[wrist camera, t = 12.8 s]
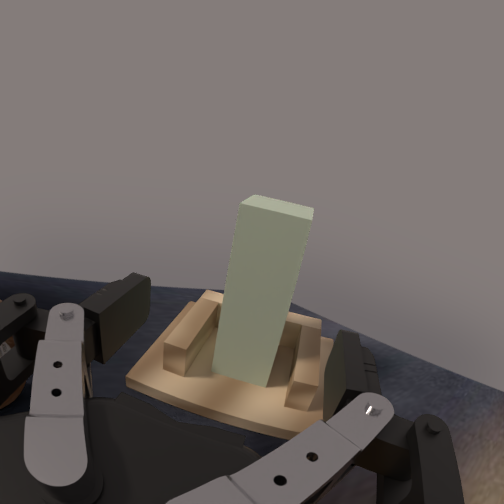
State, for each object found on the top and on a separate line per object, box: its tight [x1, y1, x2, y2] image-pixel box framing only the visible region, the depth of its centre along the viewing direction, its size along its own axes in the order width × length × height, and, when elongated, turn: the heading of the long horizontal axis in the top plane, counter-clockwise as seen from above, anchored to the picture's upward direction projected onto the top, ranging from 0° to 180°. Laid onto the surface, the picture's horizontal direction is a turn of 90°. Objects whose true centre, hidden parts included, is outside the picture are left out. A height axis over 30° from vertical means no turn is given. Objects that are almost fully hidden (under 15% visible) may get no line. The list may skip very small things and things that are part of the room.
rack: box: [125, 290, 333, 440], centre depth 23 cm, size 14×12×4 cm
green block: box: [211, 195, 314, 388], centre depth 20 cm, size 4×4×12 cm
